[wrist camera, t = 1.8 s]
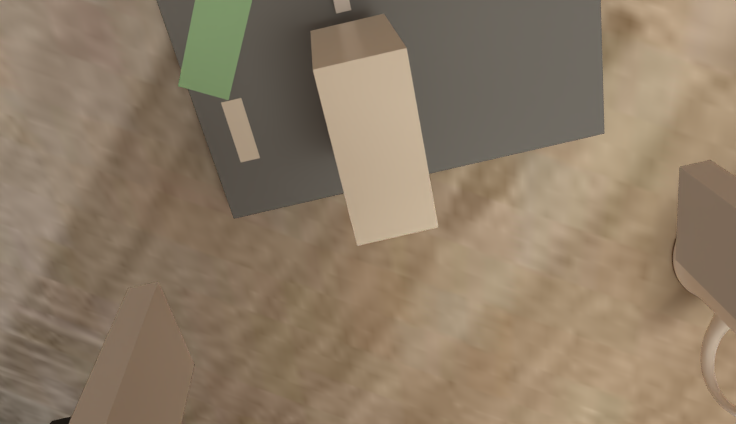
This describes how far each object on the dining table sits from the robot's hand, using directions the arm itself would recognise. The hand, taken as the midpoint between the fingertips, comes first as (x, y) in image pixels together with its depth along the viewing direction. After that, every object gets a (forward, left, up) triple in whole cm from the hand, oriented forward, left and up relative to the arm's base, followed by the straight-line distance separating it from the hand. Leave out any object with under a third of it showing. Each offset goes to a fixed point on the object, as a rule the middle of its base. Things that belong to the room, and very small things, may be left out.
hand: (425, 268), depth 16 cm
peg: (0, +3, -16) cm, 17 cm away
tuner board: (+2, +2, -19) cm, 19 cm away
